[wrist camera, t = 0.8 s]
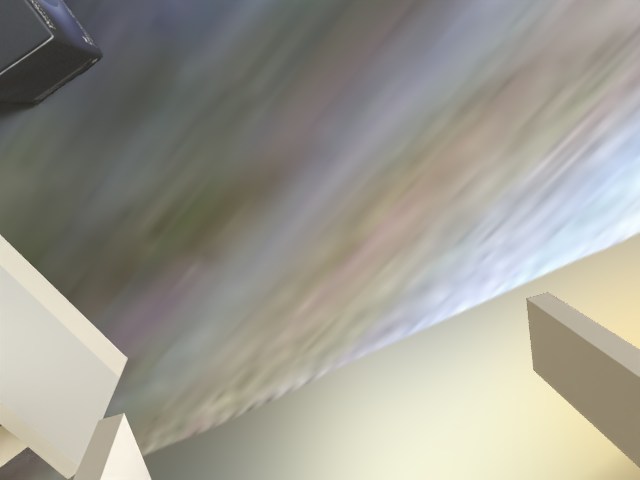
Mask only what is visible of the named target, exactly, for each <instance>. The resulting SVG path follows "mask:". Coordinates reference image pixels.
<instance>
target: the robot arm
mask: <svg viewBox="0 0 640 480" xmlns="http://www.w3.org/2000/svg"><path fill="white" fill-rule="evenodd" d="M526 300H527V310H528V320H529V330H530V340H531V350H532V359H533V369H534V371H535V372H536V373H537V374H538V375H539V376H541V377H542V378H543V379H544V380H545V381H546V382H547V383H548V384H549V385H550V386H551V387H552V388H554V389H555V390H556V391H557V392H558V393H559V394H560V395H561V396H562V397H563V398H565V399H566V400H567V401H568V402H569V403H570V404H571V405H572V406H573V407H574V408H575V409H576V410H578V411H579V412H580V413H581V414H582V415H583V416H584V417H585V418H586V419H587V420H588V421H589V422H590V423H592V424H593V425H594V426H595V427H596V428H597V429H598V430H599V431H600V432H601V433H602V434H604V435H605V436H606V437H607V438H608V439H609V440H610V441H611V442H612V443H613V444H615V445H616V446H617V447H618V448H619V449H620V450H621V451H622V452H623V453H624V454H625V455H626V456H628V458H630V459H631V460H632V461H633V462H634V463H635V464H636V465H637V466H638V467H639V468H640V350H639V349H638V348H636V347H635V346H633V345H631V344H630V343H628V342H627V341H625V340H623V339H622V338H620V337H619V336H617V335H616V334H614V333H612V332H611V331H609V330H607V329H606V328H604V327H603V326H601V325H600V324H598V323H596V322H595V321H593V320H592V319H590V318H588V317H587V316H585V315H584V314H582V313H580V312H579V311H577V310H576V309H574V308H572V307H571V306H569V305H567V304H566V303H565V302H563V301H561V300H560V299H558V298H557V297H555V296H553V295H552V294H550V293H549V292H547V293H543V294H540V295H537V296H533V297H529V298H527V299H526ZM73 480H151V478H150V475H149V473H148V470H147V468H146V466H145V463H144V461H143V458H142V456H141V453H140V451H139V448H138V446H137V443H136V441H135V439H134V436H133V434H132V431H131V429H130V426H129V424H128V421H127V419H126V417H125V414H124V413H122V414H119V415H115V416H112V417H108V418H105V419H101V420H99V421H98V423H97V425H96V428H95V430H94V432H93V435H92V437H91V439H90V442H89V444H88V446H87V449H86V451H85V453H84V456H83V458H82V460H81V463H80V465H79V467H78V470H77V472H76V474H75V477H74V479H73Z"/></svg>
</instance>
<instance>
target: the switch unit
mask: <svg viewBox="0 0 640 480" xmlns="http://www.w3.org/2000/svg"><path fill="white" fill-rule="evenodd" d="M127 359H128V358H127V357H126V356H125V355H124V354H122V353H121V352H120V351H119V350H118V349H117V348H116V347H115V346H114V345H113V344H112V343H111V342H110V341H109V340H108V339H107V338H106V337H105V336H104V335H103V334H102V333H101V332H100V331H99V330H98V329H97V328H96V327H95V326H94V325H93V324H92V323H91V322H90V321H88V320H87V319H86V318H85V317H84V316H83V315H82V314H81V313H80V312H79V311H78V310H77V309H76V308H75V307H74V306H73V305H72V304H71V303H70V302H69V301H68V300H67V299H66V298H65V297H64V296H63V295H62V294H61V293H60V292H59V291H58V290H57V289H56V288H54V287H53V286H52V285H51V284H50V283H49V282H48V281H47V280H46V279H45V278H44V277H43V276H42V275H41V274H40V273H39V272H38V271H37V270H36V269H35V268H34V267H33V266H32V265H31V264H30V263H29V262H28V261H27V260H26V259H25V258H24V257H23V256H22V255H20V254H19V253H18V252H17V251H16V250H15V249H14V248H13V247H12V246H11V245H10V244H9V243H8V242H7V241H6V240H5V239H4V238H3V237H2V236H1V235H0V424H1V425H2V426H0V467H1V466H3V465H4V464H5V463H7V462H8V461H9V460H11V459H12V458H13V457H15V456H16V455H17V454H19V453H20V452H21V451H23V450H24V449H25V448H27V447H29V448H30V449H31V450H33V451H34V452H35V453H36V454H38V455H39V456H40V457H41V458H42V459H44V460H45V461H46V462H47V463H49V464H50V465H51V466H52V467H53V468H55V469H56V470H57V471H58V472H60V473H61V474H62V475H63V476H64V477H66V478H67V479H69V478H70V477H72V476H73V475H74V474H76V472H77V470H78V467H79V465H80V463H81V460H82V458H83V456H84V453H85V451H86V449H87V446H88V444H89V442H90V439H91V437H92V435H93V432H94V430H95V428H96V425H97V423H98V421H99V420H101V419H103V416H104V414H105V412H106V409H107V407H108V404H109V402H110V400H111V397H112V395H113V392H114V390H115V388H116V385H117V383H118V381H119V378H120V376H121V373H122V371H123V369H124V366H125V364H126V361H127Z"/></svg>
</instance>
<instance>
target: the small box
mask: <svg viewBox="0 0 640 480" xmlns="http://www.w3.org/2000/svg"><path fill="white" fill-rule="evenodd" d="M102 57H103V55H102V53H101V51H100V50H99V48H98V47H97V46H96V44H95V43H94V42H93V40H92V39H91V38H90V36H89V35H88V33H87V32H86V31H85V29H84V28H83V27H82V25H81V24H80V23H79V21H78V20H77V19H76V17H75V16H74V15H73V13H72V12H71V11H70V9H69V8H68V7H67V5H66V4H65V2H64V1H63V0H0V102H25V103H33V104H39V103H40V102H42V101H43V100H44V99H46V97H47V96H48V95H50V94H53V93H54V91H56V90H57V89H58V88H60V87H61V86H63V85H64V84H65V83H67V82H68V81H70V80H71V79H74V78H75V77H76V76H77V75H79V74H80V73H83V72H85V71H86V70H88V69H89V68H90V67H91V66H92V65H94V64H95V63H96V62H97V61H98V60H100V59H101V58H102Z"/></svg>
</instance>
